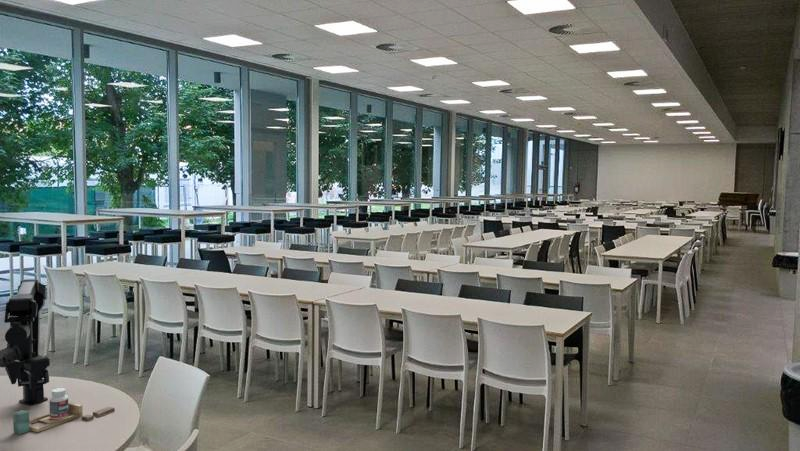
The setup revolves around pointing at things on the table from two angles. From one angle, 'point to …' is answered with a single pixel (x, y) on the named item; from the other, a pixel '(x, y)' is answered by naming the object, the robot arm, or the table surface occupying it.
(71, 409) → the wooden frame with block
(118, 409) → the table surface
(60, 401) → the pill bottle
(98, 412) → the broken walnut strip
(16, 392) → the table surface
